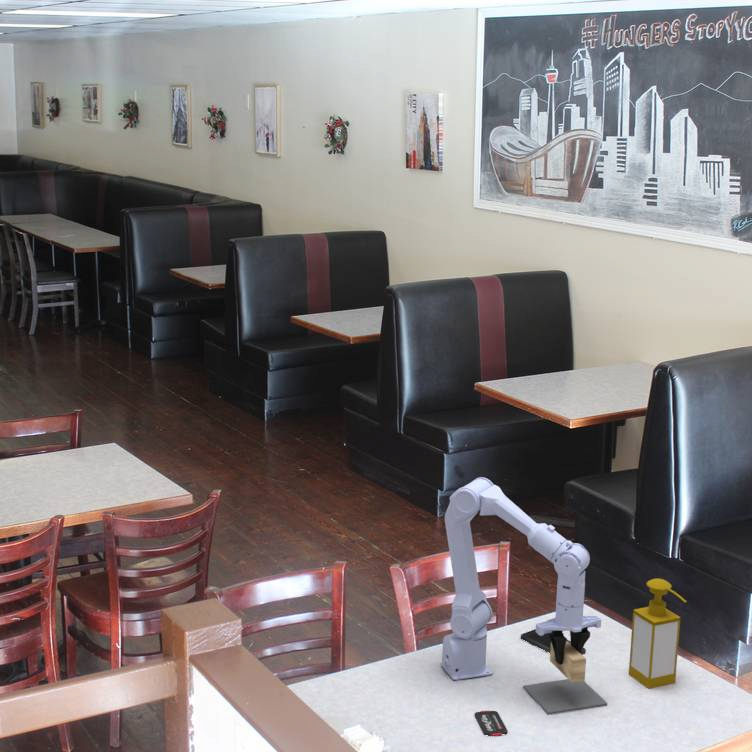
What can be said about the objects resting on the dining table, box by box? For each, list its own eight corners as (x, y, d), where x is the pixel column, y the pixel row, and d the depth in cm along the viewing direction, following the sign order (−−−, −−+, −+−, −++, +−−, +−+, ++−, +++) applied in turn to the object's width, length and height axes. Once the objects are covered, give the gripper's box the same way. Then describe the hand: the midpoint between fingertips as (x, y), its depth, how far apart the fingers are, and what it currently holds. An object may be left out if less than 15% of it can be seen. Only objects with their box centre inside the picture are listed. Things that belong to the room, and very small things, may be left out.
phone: (541, 627, 268) (587, 649, 257) (541, 631, 268) (587, 654, 257) (518, 635, 264) (564, 658, 252) (518, 639, 264) (564, 663, 252)
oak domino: (549, 660, 239) (551, 639, 238) (562, 659, 240) (563, 638, 238) (571, 682, 229) (573, 660, 228) (584, 680, 230) (586, 658, 229)
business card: (509, 733, 220) (485, 735, 219) (509, 736, 220) (484, 738, 219) (496, 709, 229) (473, 711, 228) (496, 712, 229) (473, 714, 229)
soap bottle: (664, 700, 235) (673, 597, 230) (628, 674, 247) (635, 576, 242) (691, 694, 238) (700, 592, 233) (654, 668, 249) (662, 571, 245)
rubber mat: (547, 714, 228) (548, 712, 228) (522, 687, 240) (522, 685, 239) (607, 705, 233) (607, 703, 233) (579, 679, 244) (579, 677, 244)
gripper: (547, 613, 226) (544, 674, 228) (609, 605, 230) (605, 665, 233) (532, 600, 232) (529, 659, 235) (593, 592, 237) (589, 650, 239)
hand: (566, 661), depth 234 cm, fingers closed on oak domino, 3 cm apart
